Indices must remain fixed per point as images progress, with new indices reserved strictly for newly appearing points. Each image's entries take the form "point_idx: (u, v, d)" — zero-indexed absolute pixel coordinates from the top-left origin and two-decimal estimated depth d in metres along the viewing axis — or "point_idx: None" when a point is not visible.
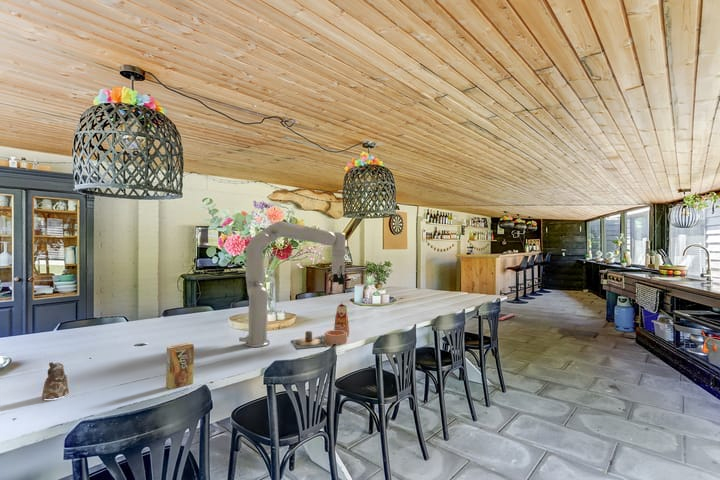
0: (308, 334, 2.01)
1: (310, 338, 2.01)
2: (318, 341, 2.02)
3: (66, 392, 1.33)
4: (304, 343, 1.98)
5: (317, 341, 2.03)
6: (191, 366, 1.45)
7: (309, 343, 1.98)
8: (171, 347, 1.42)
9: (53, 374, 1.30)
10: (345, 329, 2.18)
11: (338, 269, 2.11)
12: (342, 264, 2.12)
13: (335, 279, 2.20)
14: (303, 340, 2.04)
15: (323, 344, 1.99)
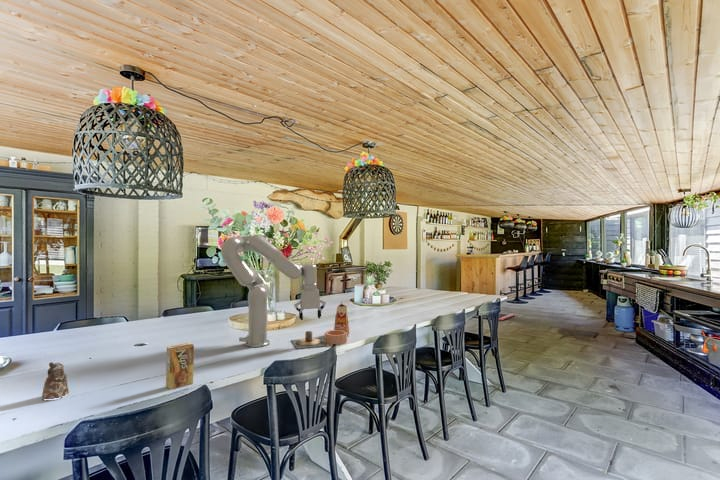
0: (308, 334, 2.01)
1: (310, 338, 2.01)
2: (318, 341, 2.02)
3: (66, 392, 1.33)
4: (304, 343, 1.98)
5: (317, 341, 2.03)
6: (191, 366, 1.45)
7: (309, 343, 1.98)
8: (171, 347, 1.42)
9: (53, 374, 1.30)
10: (345, 329, 2.18)
11: None
12: None
13: None
14: (303, 340, 2.04)
15: (323, 344, 1.99)
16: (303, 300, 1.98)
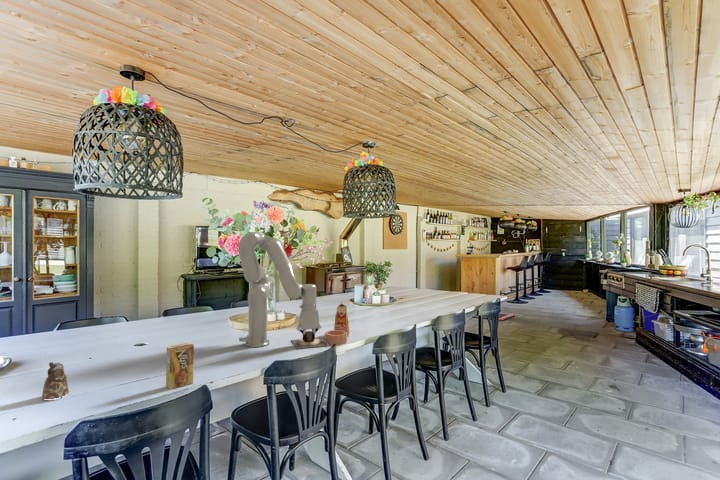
0: (308, 334, 2.01)
1: (310, 338, 2.01)
2: (318, 341, 2.02)
3: (66, 392, 1.33)
4: (304, 343, 1.98)
5: (317, 341, 2.03)
6: (191, 366, 1.45)
7: (309, 343, 1.98)
8: (171, 347, 1.42)
9: (53, 374, 1.30)
10: (345, 329, 2.18)
11: (318, 323, 2.03)
12: None
13: None
14: (303, 340, 2.04)
15: (323, 344, 1.99)
16: (302, 320, 1.98)
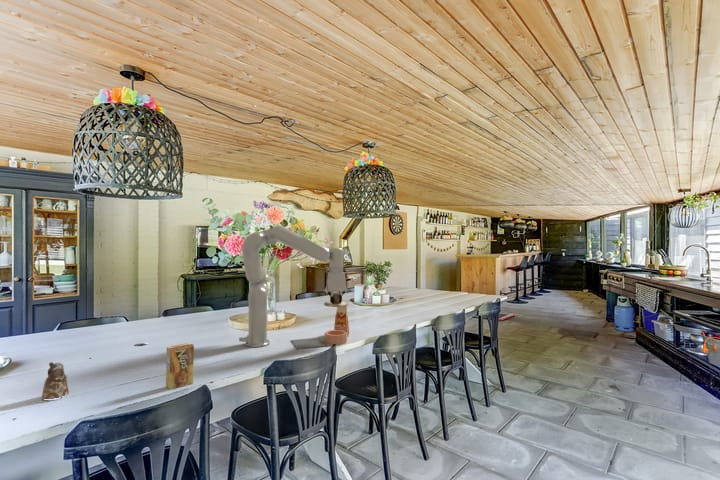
0: (336, 296, 2.05)
1: (337, 300, 2.05)
2: (345, 303, 2.06)
3: (66, 392, 1.33)
4: (332, 304, 2.02)
5: (344, 303, 2.07)
6: (191, 366, 1.45)
7: (337, 304, 2.02)
8: (171, 347, 1.42)
9: (53, 374, 1.30)
10: (345, 329, 2.18)
11: None
12: None
13: None
14: (330, 302, 2.08)
15: (323, 344, 1.99)
16: (330, 282, 2.03)
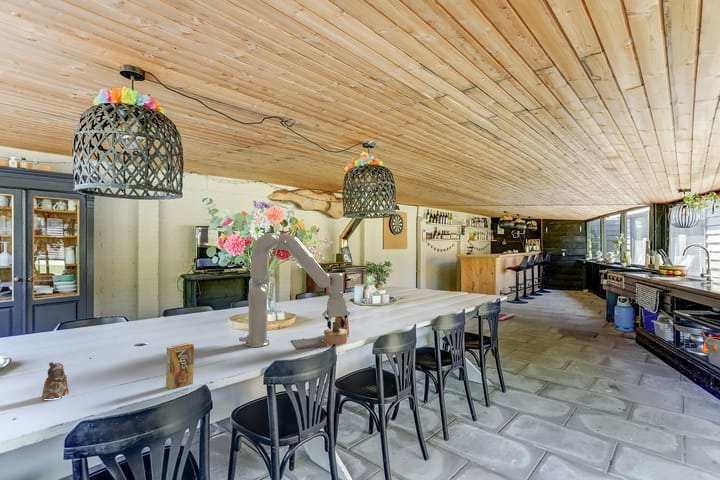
0: (335, 324, 2.05)
1: (337, 328, 2.06)
2: (345, 331, 2.07)
3: (66, 392, 1.33)
4: (332, 333, 2.02)
5: (344, 331, 2.07)
6: (191, 366, 1.45)
7: (337, 333, 2.03)
8: (171, 347, 1.42)
9: (53, 374, 1.30)
10: (345, 329, 2.18)
11: None
12: None
13: None
14: (330, 330, 2.08)
15: (323, 344, 1.99)
16: (330, 308, 2.03)
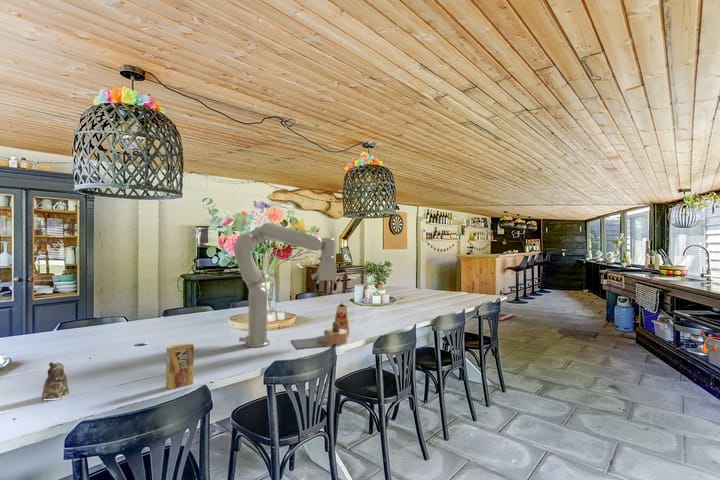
0: (335, 324, 2.05)
1: (337, 328, 2.06)
2: (345, 331, 2.07)
3: (66, 392, 1.33)
4: (332, 333, 2.02)
5: (344, 331, 2.07)
6: (191, 366, 1.45)
7: (337, 333, 2.03)
8: (171, 347, 1.42)
9: (53, 374, 1.30)
10: (345, 329, 2.18)
11: None
12: None
13: None
14: (330, 330, 2.08)
15: (323, 344, 1.99)
16: (320, 271, 2.05)
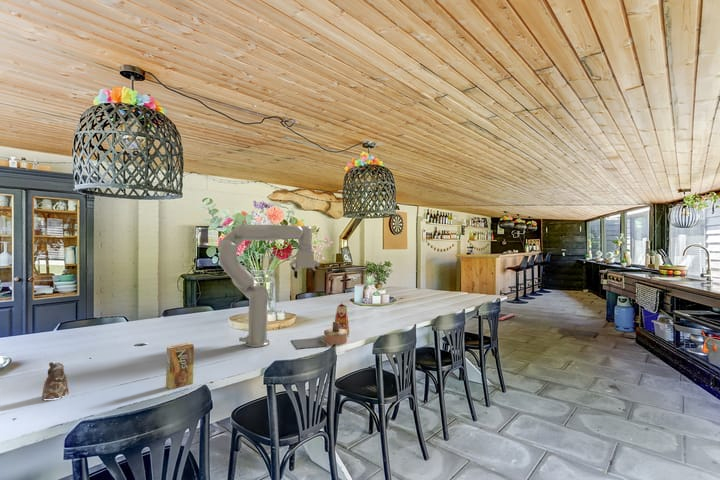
0: (335, 324, 2.05)
1: (337, 328, 2.06)
2: (345, 331, 2.07)
3: (66, 392, 1.33)
4: (332, 333, 2.02)
5: (344, 331, 2.07)
6: (191, 366, 1.45)
7: (337, 333, 2.03)
8: (171, 347, 1.42)
9: (53, 374, 1.30)
10: (345, 329, 2.18)
11: None
12: None
13: None
14: (330, 330, 2.08)
15: (323, 344, 1.99)
16: (298, 259, 2.09)
